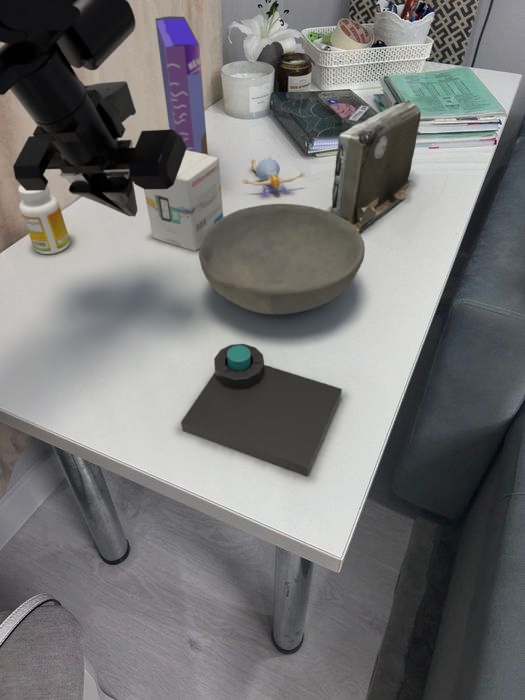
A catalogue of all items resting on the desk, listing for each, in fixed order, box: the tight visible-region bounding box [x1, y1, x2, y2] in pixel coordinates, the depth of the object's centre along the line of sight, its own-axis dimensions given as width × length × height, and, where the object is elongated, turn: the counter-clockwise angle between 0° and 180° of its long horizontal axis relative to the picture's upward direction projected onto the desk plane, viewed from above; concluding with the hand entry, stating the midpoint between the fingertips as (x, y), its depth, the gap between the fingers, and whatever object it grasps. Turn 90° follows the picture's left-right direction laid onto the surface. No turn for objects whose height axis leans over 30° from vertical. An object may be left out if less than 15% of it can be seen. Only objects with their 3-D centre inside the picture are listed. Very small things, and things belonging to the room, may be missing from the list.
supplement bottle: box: [17, 184, 71, 255], centre depth 76 cm, size 5×5×10 cm
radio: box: [325, 100, 422, 232], centre depth 84 cm, size 23×9×15 cm, turn 137°
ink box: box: [143, 150, 224, 252], centre depth 78 cm, size 8×8×12 cm
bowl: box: [198, 203, 366, 315], centre depth 68 cm, size 21×21×8 cm
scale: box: [180, 343, 343, 477], centre depth 55 cm, size 14×12×3 cm
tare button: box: [227, 345, 251, 371], centre depth 57 cm, size 3×3×2 cm
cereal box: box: [155, 15, 209, 155], centre depth 87 cm, size 17×5×24 cm, turn 13°
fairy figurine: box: [242, 156, 305, 198], centre depth 93 cm, size 12×5×12 cm
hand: (133, 213), depth 62 cm, fingers closed
